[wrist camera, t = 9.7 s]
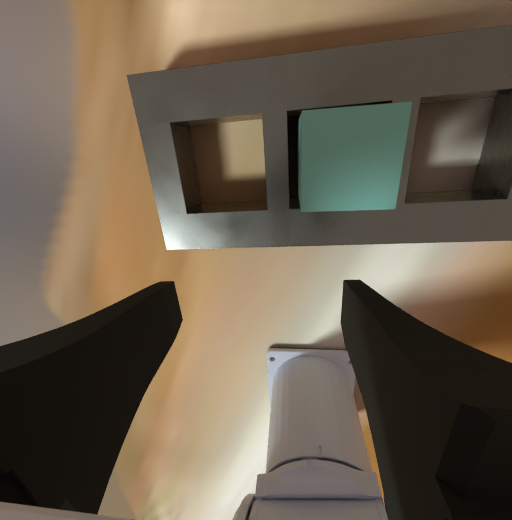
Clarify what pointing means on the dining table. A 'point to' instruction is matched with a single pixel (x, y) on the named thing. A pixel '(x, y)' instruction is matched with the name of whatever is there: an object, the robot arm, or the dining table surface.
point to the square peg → (351, 157)
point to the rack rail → (322, 97)
